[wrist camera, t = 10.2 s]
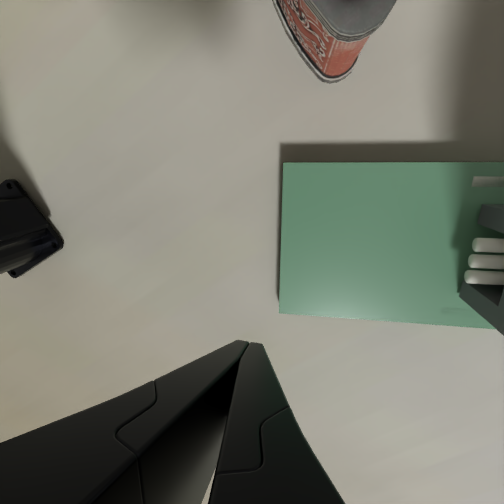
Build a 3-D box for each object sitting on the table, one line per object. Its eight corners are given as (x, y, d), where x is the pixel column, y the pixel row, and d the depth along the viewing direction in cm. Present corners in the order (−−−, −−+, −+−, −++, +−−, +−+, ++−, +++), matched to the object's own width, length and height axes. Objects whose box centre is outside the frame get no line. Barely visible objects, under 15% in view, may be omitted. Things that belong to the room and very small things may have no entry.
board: (279, 305, 23) (278, 313, 22) (283, 162, 19) (283, 162, 18) (547, 324, 20) (562, 334, 19) (609, 161, 17) (632, 162, 15)
